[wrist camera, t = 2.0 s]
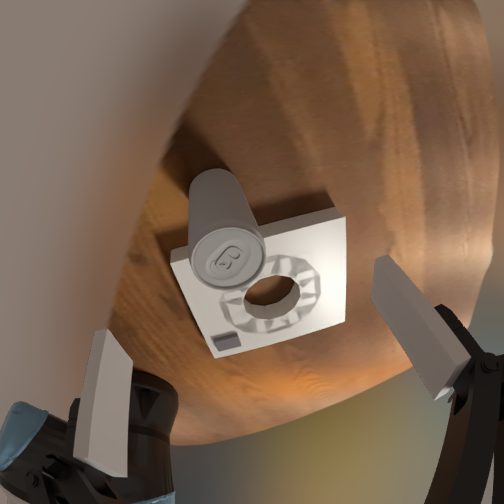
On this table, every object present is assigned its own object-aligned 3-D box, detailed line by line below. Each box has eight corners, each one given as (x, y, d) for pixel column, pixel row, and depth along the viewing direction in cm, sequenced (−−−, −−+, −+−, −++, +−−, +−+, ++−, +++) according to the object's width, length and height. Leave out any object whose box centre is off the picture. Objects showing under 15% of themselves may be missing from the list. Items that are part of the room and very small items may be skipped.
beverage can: (179, 196, 27) (172, 270, 17) (209, 156, 25) (221, 209, 16) (218, 221, 29) (235, 303, 19) (249, 185, 28) (284, 252, 18)
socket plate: (213, 344, 39) (215, 362, 36) (171, 249, 30) (169, 266, 27) (337, 309, 40) (346, 324, 37) (335, 206, 31) (348, 219, 28)
